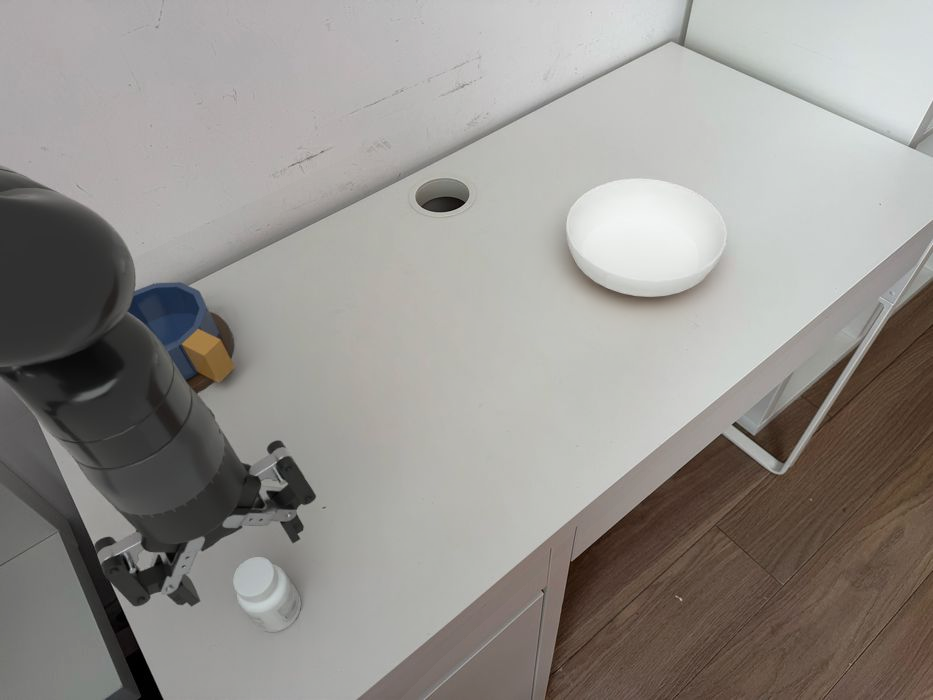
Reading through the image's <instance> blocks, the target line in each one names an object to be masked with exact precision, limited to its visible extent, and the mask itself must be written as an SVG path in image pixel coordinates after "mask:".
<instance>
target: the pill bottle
mask: <svg viewBox="0 0 933 700" xmlns="http://www.w3.org/2000/svg"><path fill="white" fill-rule="evenodd" d="M232 585H233V588H234V590H235V593H236V599H237V602H238V604H239V606H240V607H241V609H242V610H243V611H244V612H245V614H246V615H247V616H248V617H249V618H250V619H251V620H252V621H253V623H254V624H255V625H256V626H257V627H258V628H259V629H261V630H263V631H265V632H268V633H276V632H277V633H278V632H281V631H284V630H285V629H287V628H288V627H290V626H291V625H292V624H293V623H294V622H295V621H296V619H297V618H298V616H299V614H300V612H301V607H302V606H301V604H302V603H301V597H300V594H299V592H298V590H297V589H296V587H295V586H294V584H293V583H292V581H291V580H290V578H289V577H288V575H287V574H286V572H285V571H284V570H283V568H281V567H280V566H279V565H277V564H274V563H272V562H271V561H270V560H269V559H267V558H266V557H263V556H253V557H249V558H247V559H245V560H244V561H243V562H241V563H240V564H239V565H238V566H237V568H236V569H235V571H234V574H233V577H232Z"/></svg>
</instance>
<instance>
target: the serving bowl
mask: <svg viewBox="0 0 933 700" xmlns="http://www.w3.org/2000/svg"><path fill="white" fill-rule="evenodd" d="M127 312H129V313H130V314H132V315H133V316H134V317H136V318H137V319H139V320H140V321H141V322H143V323H144V324H145V325H146V326H147V327H148V328H149V329H150V330H151V331H152V332H153V333H154V334H155V335H156V336H157V337H158V339H159V340H160V341H161V343H162V344H163V345H164V347H165V348H166V350H167V351H168V353H169V355H170V357H171V358H172V360H173V361H174V363H175V365H176V366H177V368H178V369H179V371H180V373H181V374H182V376H183V377H184V379H185V380H187V379H189V378H191V377H193V376H194V375H196V374H197V373H201V374H203V375H205V376H206V377H208V378H210V379H212V380H214V382H216V383H218V384H220V383H221V382H222V381H223V380H224V379H225V378H226V377H227V376H228V375H229V374H230V373H232V371H233V370H234V369H235V365H234V363H233V360H232V358H231V359H230V357H229V355H228V353H227V351H226V349H225V347H224V345H223V343H222V341H221V340H220V332H219V330H218V328H217V326H216V323H215V321H214V319H213V317H212V315H211V313H210V312H211V310H210V309H209V307H208V304H207V303H206V301H205V299H204V297H203V295H202V293H201V291H200V290H199V289H197V288H194V287H191V286H189V285H187V284H185V283H183V282H179V281H175V282H155V283H151V284H148V285H146V286H143V287H141V288H138V289H135V291H134V295H133V300H132V302H131V305H130V307H129V309H128V311H127Z"/></svg>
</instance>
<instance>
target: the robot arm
mask: <svg viewBox="0 0 933 700" xmlns="http://www.w3.org/2000/svg"><path fill="white" fill-rule="evenodd" d="M136 279H137V277H136V267H135V264H134V260H133V256H132V253H131V252H130V249H129V247H128V245H127V243H126V242H125V240H124V238H123V237H122V236H121V234H120V233H119V232H118V231H117V230H116V228H114V226H113V225H112V224H111V223H110V222H108V220H106V219H105V218H104V217H102V215H100V214H99V213H98V212H96V211H94V210H93V209H92V208H90V207H89V206H88V205H85V204H83V203H81V202H79V201H77V200H76V199H74V198H71V197H69V196H68V195H65V194H63V193H61V192H58V191H57V190H54V189H52V188H51V187H48V186H46V185H44V184H43V183H40V182H39V181H36V180H34V179H32V178H30V177H28V176H27V175H24V174H22V173H19V172H18V171H15V170H13V169H11V168H10V167H7V166H4V165H3V164H2V165H1V164H0V380H1V381H2V382H3V383H4V384H5V385H6V386H7V387H9V389H11V391H12V392H13V393H14V394H15V395H16V396H17V397H18V398H19V399H20V401H22V402H23V403H24V405H25V406H26V407H27V408H28V410H29V411H30V412H31V413H32V414H33V416H34V418H35V419H36V420H37V421H38V422H39V424H40V425H41V426H42V427H43V428H44V429H45V430H46V432H48V434H50V435H51V437H53V438H54V439H55V440H56V442H58V444H59V445H61V446H62V447H63V449H64V450H66V452H67V453H68V454H69V455H70V456H71V457H72V459H74V461H75V462H76V464H77V466H78V467H79V469H80V471H81V472H82V473H83V475H84V477H85V478H86V479H87V481H89V483H90V484H91V485H92V486H93V487H94V488H95V489H96V490H97V491H98V492H99V493H100V495H102V496H103V497H104V498H105V499H106V501H108V502H109V504H110V505H112V507H113V508H114V509H115V510H117V512H118V513H120V514H121V516H122V517H123V518H124V519H125V520H126V521H127V522H128V523H129V524H130V525H131V526H132V527H133V528H134V529H135V532H133V533H131V534H129V535H128V536H126V537H124V538H122V539H120V540H118V541H116V540H115V539H114V537H112V536H105V537H101V538H100V539H98V540H97V541H95V543H94V546H93V547H94V550H95V552H96V556H97V558H98V561H99V564H100V567H101V570H102V573H103V576H104V577H105V579H107V580H108V581H109V582H110V583H111V584H112V585H113V587H114V588H115V589H116V590H118V592H119V593H120V594H121V595H122V596H123V597H124V598H125V599H126V600H127V601H128V602H129V604H131V605H132V606H133V607H141V606H144V605H145V604H147V603H148V602H149V601H150V600H151V596H152V595H154V594H157V593H161V595H164V596H167V597H168V598H169V599H170V600H171V601H173V602H174V604H176V605H178V606H184V605H185V604H188V605H189V606H190V607H191V608H192V607H194V606H195V605H197V604H199V603H200V602H201V598H200V596H199V594H198V592H197V589H196V587H195V585H194V583H193V581H192V580H191V578H190V577H189V576H188V575H187V574H189V573H190V571H191V569H192V566H193V564H194V562H195V559H196V557H197V554H198V552H199V551H201V552H202V553H203V552H205V551H206V550H208V549H209V548H212V547H213V546H214V545H216V544H217V543H218V542H219V541H220V540H222V539H223V538H225V537H228V536H230V535H232V534H234V533H236V532H238V531H239V530H241V529H242V528H243V527H245V526H246V527H247V526H248V527H267V526H268V525H269V524H270V522H279V523H280V525H281V527H282V528H283V530H284V531H285V533H286V535H287V537H288V539H289V540H290V541H291V543H292V544H295V543H297V542H298V541H299V540H301V537H300V536H299V534H300V533H302V532H303V531H304V529H305V526H304V524H303V522H302V520H301V519H300V517H299V515H298V512H297V510H298V508H299V507H300V506H301V505H302V506H303V505H304V506H306V505H310V504H311V503H312V502H314V501H315V500H316V498H317V495H316V493H315V491H314V490H313V488H312V486H311V485H310V483H309V482H308V481H307V479H306V477H305V475H304V474H303V472H302V470H301V469H300V467H299V466H298V464H297V463H296V461H295V460H294V458H293V457H292V455H291V453H290V452H289V450H288V448H287V447H286V445H285V444H284V442H283V441H282V440H279V439H277V440H273V441H272V442H271V443H269V444H268V446H267V447H266V451H267V453H268V455H267V456H265V457H263V458H262V459H260V460H259V461H258V462H255V463H254V464H252V465H251V464H248V463H245V462H242V460H241V459H240V458H239V456H238V454H237V453H236V451H235V449H234V448H233V446H232V445H231V443H230V442H229V440H228V438H227V436H226V435H225V433H224V432H223V429H222V428H221V427H220V425H219V423H218V421H217V420H216V416H215V414H214V412H213V411H212V410H211V409H210V408H209V407H208V405H206V403H205V401H204V400H203V399H202V397H201V396H200V395H199V394H198V393H196V392H195V391H194V390H193V389H192V388H191V387H190V386H189V385H188V383H187V382H186V381H185V379H184V377H183V376H182V374H181V373H180V371H179V369H178V368H177V366H176V365H175V363H174V361H173V360H172V358H171V357H170V355H169V353H168V351H167V350H166V348H165V347H164V345H163V344H162V343H161V341H160V340H159V339H158V337H157V336H156V335H155V334H154V333H153V332H152V331H151V330H150V329H149V328H148V327H147V326H146V325H145V324H144V323H143V322H141V321H140V320H139V319H137V318H136V317H134V316H133V315H132V314H130V313H129V312H127V311H128V309H129V307H130V305H131V302H132V300H133V295H134V291H136V287H137V286H136V281H137V280H136ZM264 480H271V481H272V482H278V483H279V485H285V484H286V483H287V484H286V485H285V486H284V487H278V486H265V485H263V484H262V481H264ZM142 551H146V552H149V553H154V554H153V557H152V560H151V562H150V565H149V566H150V567H147V568H144V569H143V570H141V569H140V567H139V566H138V563H139V561H140V558H139V555H140V553H142Z"/></svg>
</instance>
